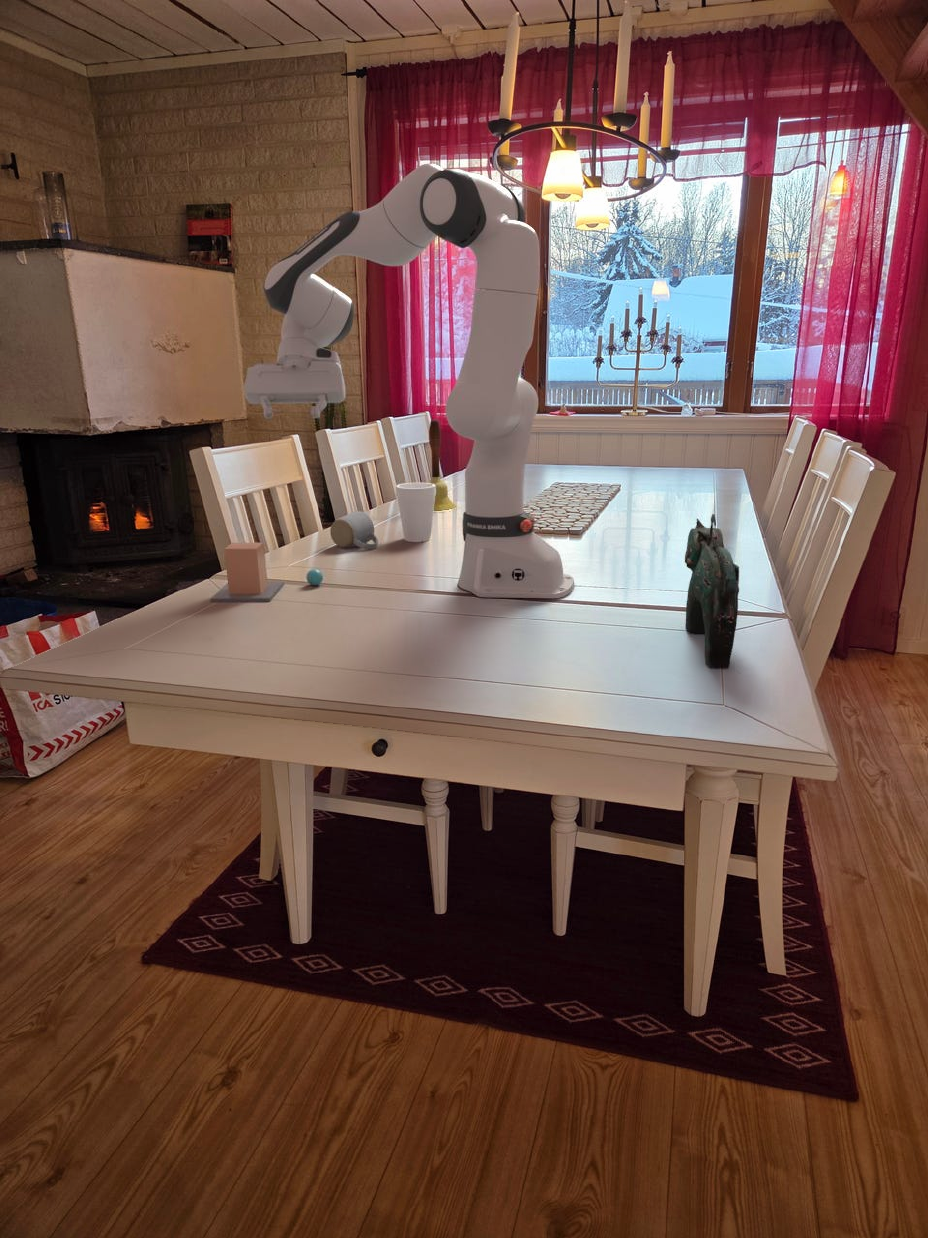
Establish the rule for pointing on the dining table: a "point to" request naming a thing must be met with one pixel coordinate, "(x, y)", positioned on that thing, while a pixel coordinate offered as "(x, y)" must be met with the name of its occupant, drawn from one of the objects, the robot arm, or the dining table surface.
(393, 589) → the dining table surface
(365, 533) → the ceramic mug
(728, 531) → the dining table surface
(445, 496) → the handbell
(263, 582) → the tan wooden post block
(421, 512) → the foam cup
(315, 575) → the marble
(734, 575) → the dark green horse figurine
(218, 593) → the slate coaster
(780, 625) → the dining table surface
